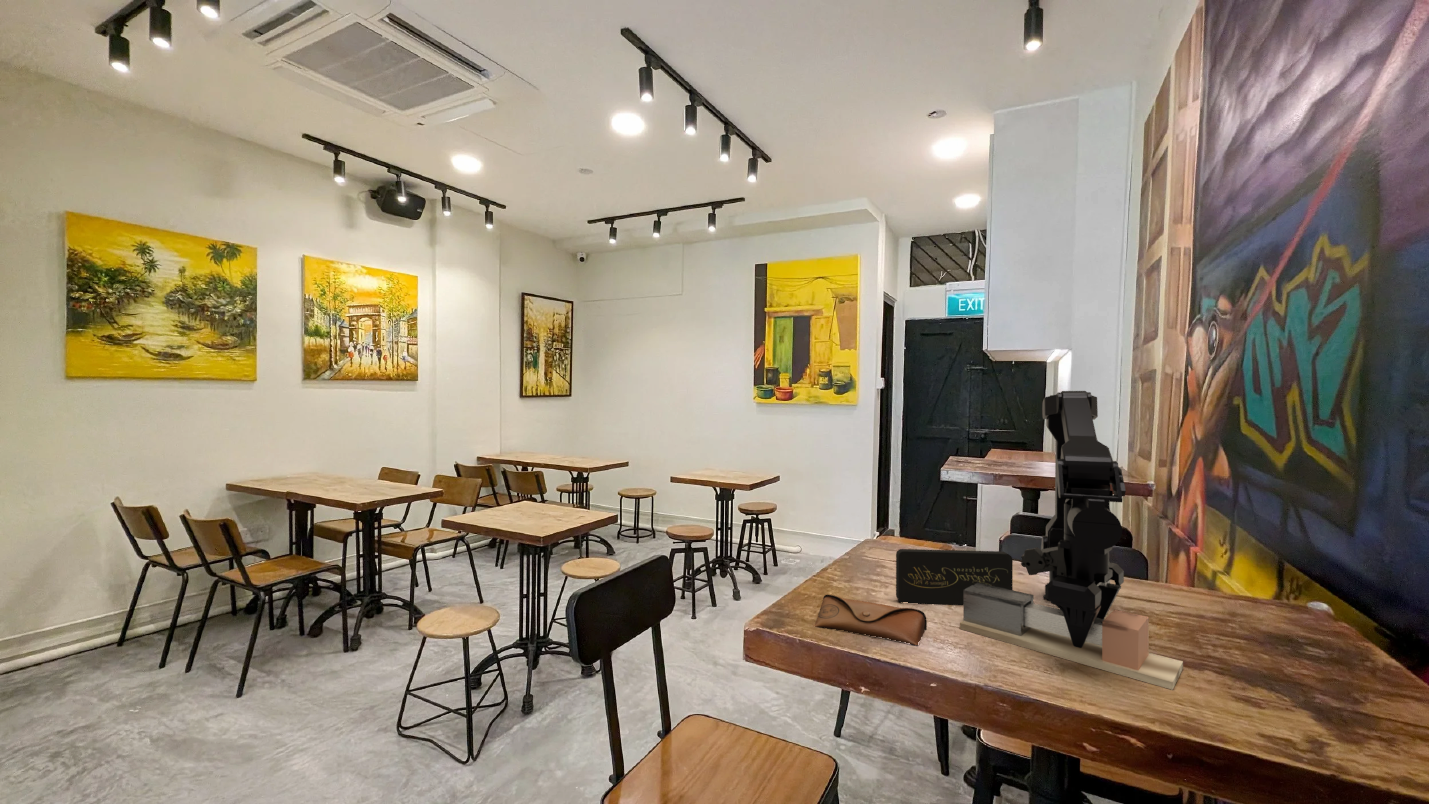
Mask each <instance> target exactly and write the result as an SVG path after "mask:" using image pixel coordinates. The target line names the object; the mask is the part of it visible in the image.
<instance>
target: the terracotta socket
mask: <svg viewBox="0 0 1429 804" xmlns="http://www.w3.org/2000/svg"><path fill="white" fill-rule="evenodd" d="M1149 618H1150V617H1149V616H1147V615H1146V616H1145V615H1141V614H1137V613H1132V612H1128V611H1123V610H1120V609H1113V610H1112V611H1111V612H1110V613H1109V615H1107V616H1106V617H1105V619H1104V621H1103V622H1102V661H1106V662H1110V663H1113V664H1117V665H1120V666H1124V667H1128V668H1131V669H1135V670H1139V669H1140V667H1141V666H1142V664H1143V663H1144V661H1145V660H1146V658H1147V657H1148V655H1149V653H1150V652H1149V651H1150V650H1149V649H1150V645H1149V644H1150V641H1149V639H1150V634H1149V629H1150V623H1149V621H1150V620H1149Z"/></svg>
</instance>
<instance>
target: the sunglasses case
mask: <svg viewBox="0 0 1429 804" xmlns="http://www.w3.org/2000/svg"><path fill="white" fill-rule="evenodd" d="M814 626H815V627H814ZM812 627H814V628H820V629H825V628H827V629H826V630H832V629H836V630H835V631H838V630H844V631H848V632H847V633H850V632H853V633H852V634H855V633H859V634H858V635H860V634H866V635H870V636H869V637H871V636H876V637H882V638H889V639H891V640H890V641H892V640H896V641H901V642H906V643H910V644H913V645H912V646H915V645H918V642H919V641H920V640H921V641H922V639H921V637H922V638H923V636H924V634H925V631H927V630H928V629H927V627H928V621H927V616H926V614H925V613H924V611H922V610H920V609H917V608H912V607H898V606H893V605H887V604H882V603H876V602H871V601H865V600H857V599H851V598H844V597H840V596H837V595H834V594H825V595H824V596H823V597H822V601H821V605H820V608H819V611H818V615H817V617H816V620H815V623H814V625H812ZM844 631H843V632H844ZM866 635H865V636H866ZM876 637H875V638H876ZM896 641H895V642H896ZM921 641H920V642H921ZM901 642H900V643H901Z"/></svg>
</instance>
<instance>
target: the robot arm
mask: <svg viewBox="0 0 1429 804" xmlns="http://www.w3.org/2000/svg"><path fill="white" fill-rule="evenodd" d="M1041 407H1042V408H1041V409H1042V420H1046V421H1045V422H1046V423H1045V424H1046V428H1047V430H1048V431H1049V433H1050V434H1051V436H1052V437H1053V439H1054V440H1055V441H1054V442H1055V445H1054V446H1055V449H1054V450H1055V457H1054V458H1055V459H1054V462H1055V463H1054V468H1055V469H1054V470H1055V471H1054V472H1055V474H1054V475H1055V476H1054V481H1055V485H1054V501H1055V502H1054V515H1053V516H1052V517H1051V519H1050V520H1049V522H1048V523H1047V524H1046V526H1045V535H1041V543H1040V544H1041V545H1040V548H1039V547H1037V546H1036V547H1034V548H1026V549H1025V550H1024V553H1023V554H1021V556H1020V558H1021V563H1020V564H1021V567H1023V568H1026V571H1027V574H1028V576H1035V575H1038V574H1040V573H1041V574H1042V573H1048V575H1049V577H1048V578H1049V579H1048V580H1049V581H1048V582H1047V583H1046V584H1045V585H1044V594H1043V595H1042V598H1043V599H1044V600H1048V601H1049V602H1050V603H1051V604H1052V605H1055V606H1056V607H1057V609H1060V610H1061V611H1062V612H1063V615H1064V618H1065V621H1066V624H1067V627H1068V630H1069V634H1070V637H1071V640H1072V643H1073V646H1075V647H1078V648H1082V647H1083V645H1084V643H1085V641H1086V639H1087V636H1088V634H1089V632H1090V630H1091V628H1092V625H1093V623H1094V621H1095V619H1096V618H1100V619H1104V620H1105V619H1106V618H1107V616H1108V615H1107V614H1108V612H1109V611H1110V609H1111V607H1112V605H1113V603H1114V601H1115V599H1116V597H1117V596H1118V594H1119V592H1120V591H1121V589H1122V586H1121V585H1122V584H1124V582H1125V580H1124V579H1125V577H1124V575H1125V574H1124V573H1125V571H1124V569H1123V568H1122V567H1121V566H1119V565H1120V564H1118V563H1114V562H1110V552H1111V551H1113V547H1115V546H1116V545H1117V544H1118V543H1119V542H1120V540H1121V539H1122V535H1123V526H1122V524H1121V521H1120V519H1119V518H1118V517H1117V515H1115V514H1114V513H1113V512H1112V511H1111V506H1110V503H1123V497H1125V496H1126V492H1127V491H1126V485H1125V481H1124V475H1123V469H1121V467H1119V463H1118V462H1117V461H1116V460H1113V456H1112V454H1111V450H1110V447H1109V446H1107V445H1106V444H1103V443H1102V442H1100V441H1098V437H1097V433H1096V429H1095V423H1094V420H1096V419H1097V418H1098V416H1099V413H1098V396H1095V395H1092V392H1089V391H1088V392H1087V391H1086V390H1061V391H1060V392H1057V393H1056V394H1052V395H1051V394H1050V395H1049V396H1045V397H1044V398H1043V401H1042V406H1041ZM1111 488H1112V490H1111ZM1111 581H1114V583H1111Z"/></svg>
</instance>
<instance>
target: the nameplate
mask: <svg viewBox="0 0 1429 804" xmlns="http://www.w3.org/2000/svg"><path fill="white" fill-rule="evenodd" d="M1013 561H1014V560H1013V557H1012V555H1011V554H1009V553H1007V552H1005V551H1003V550H1001V551H999V550H998V551H997V550H995V551H993V550H965V549H964V550H961V549H959V550H958V549H957V550H955V549H919V548H918V549H917V548H915V549H913V548H900V549H898V550H897V551H896V555H895V565H896V566H895V597H896V599H897V600H898V601H899V603H900V602H908V603H918V604H917V605H932V604H934V606H935V605H936V606H937V605H938V606H939V605H940V606H943V605H944V606H963V604H964V589H966V588H968V587H970V586H972V585H974V584H976V583H982V584H987V585H991V586H996V587H1000V588H1005V589H1009V590H1013V587H1014V586H1013V584H1014V581H1013V575H1014V574H1013V572H1014V571H1013V569H1014V567H1013V563H1014V562H1013Z"/></svg>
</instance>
